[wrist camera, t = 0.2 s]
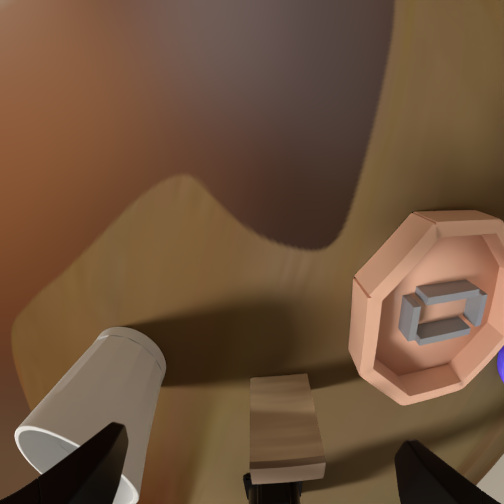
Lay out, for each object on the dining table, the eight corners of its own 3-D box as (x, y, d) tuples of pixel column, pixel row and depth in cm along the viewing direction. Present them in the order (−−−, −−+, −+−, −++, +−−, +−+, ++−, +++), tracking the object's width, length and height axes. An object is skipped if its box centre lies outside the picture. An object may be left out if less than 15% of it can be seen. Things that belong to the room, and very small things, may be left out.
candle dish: (479, 359, 24) (495, 377, 21) (343, 390, 24) (352, 416, 21) (510, 209, 20) (535, 218, 17) (354, 214, 20) (371, 225, 17)
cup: (116, 298, 22) (31, 406, 10) (196, 364, 24) (166, 494, 12) (73, 352, 24) (5, 447, 12) (142, 407, 25) (104, 513, 14)
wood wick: (306, 390, 24) (323, 477, 16) (252, 395, 25) (252, 484, 16) (306, 373, 24) (325, 462, 15) (250, 377, 24) (249, 469, 15)
